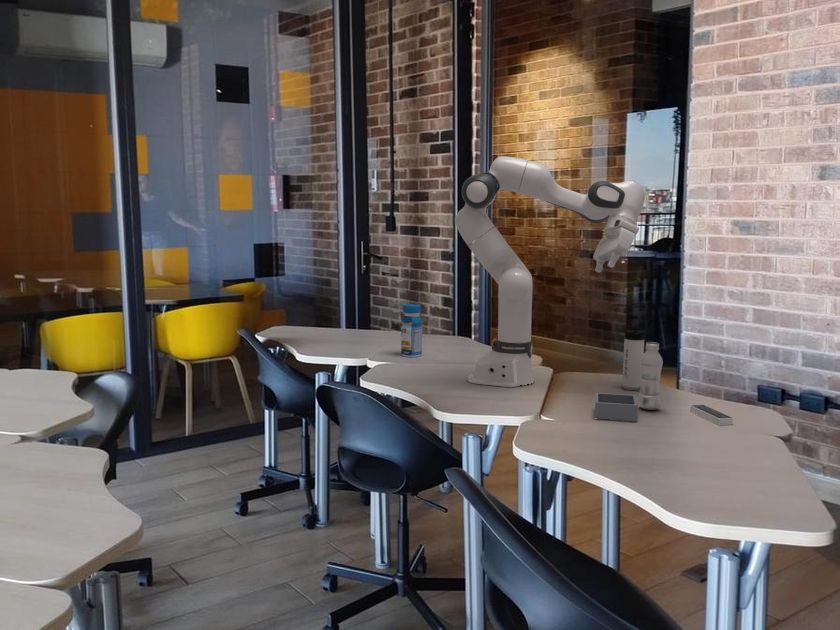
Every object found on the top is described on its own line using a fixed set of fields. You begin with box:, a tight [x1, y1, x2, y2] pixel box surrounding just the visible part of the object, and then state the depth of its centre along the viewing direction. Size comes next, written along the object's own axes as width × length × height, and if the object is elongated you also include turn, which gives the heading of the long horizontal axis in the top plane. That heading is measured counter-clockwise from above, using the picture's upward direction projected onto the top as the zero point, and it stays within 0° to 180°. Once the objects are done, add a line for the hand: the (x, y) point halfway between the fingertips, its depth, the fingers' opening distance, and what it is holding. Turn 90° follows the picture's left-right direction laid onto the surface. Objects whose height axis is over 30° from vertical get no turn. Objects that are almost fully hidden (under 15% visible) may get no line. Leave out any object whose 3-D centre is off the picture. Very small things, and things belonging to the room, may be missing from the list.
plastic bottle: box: [637, 341, 664, 411], centre depth 237 cm, size 6×7×20 cm
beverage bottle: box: [400, 303, 424, 358], centre depth 311 cm, size 8×8×20 cm
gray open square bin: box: [594, 392, 639, 422], centre depth 232 cm, size 12×12×5 cm
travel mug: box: [621, 326, 645, 391], centre depth 262 cm, size 6×7×20 cm
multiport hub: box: [689, 404, 734, 426], centre depth 230 cm, size 4×14×2 cm, turn 14°
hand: (604, 269), depth 253 cm, fingers open, 8 cm apart
